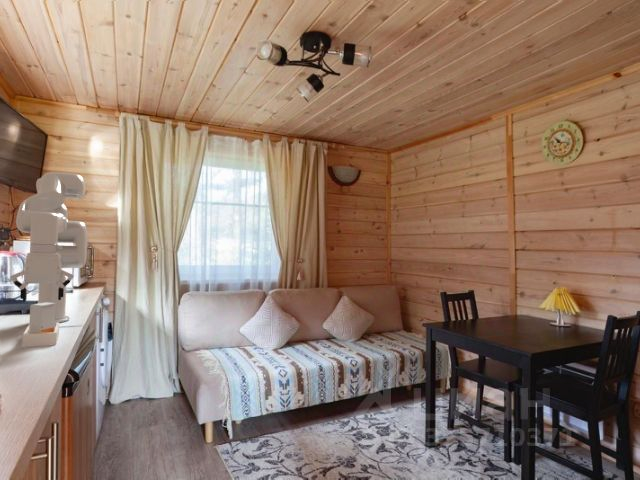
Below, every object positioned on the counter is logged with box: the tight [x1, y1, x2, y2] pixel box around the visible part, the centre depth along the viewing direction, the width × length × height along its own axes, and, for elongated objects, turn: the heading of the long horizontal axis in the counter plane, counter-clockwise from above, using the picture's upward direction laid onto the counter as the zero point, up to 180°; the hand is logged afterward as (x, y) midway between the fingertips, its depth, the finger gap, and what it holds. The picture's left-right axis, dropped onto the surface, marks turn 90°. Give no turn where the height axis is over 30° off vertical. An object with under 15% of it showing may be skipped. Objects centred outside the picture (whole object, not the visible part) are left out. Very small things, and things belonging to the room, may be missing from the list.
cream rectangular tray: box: [21, 322, 60, 349], centre depth 135 cm, size 18×9×4 cm, turn 31°
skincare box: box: [28, 302, 56, 334], centre depth 131 cm, size 6×4×12 cm
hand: (42, 300), depth 132 cm, fingers open, 9 cm apart
